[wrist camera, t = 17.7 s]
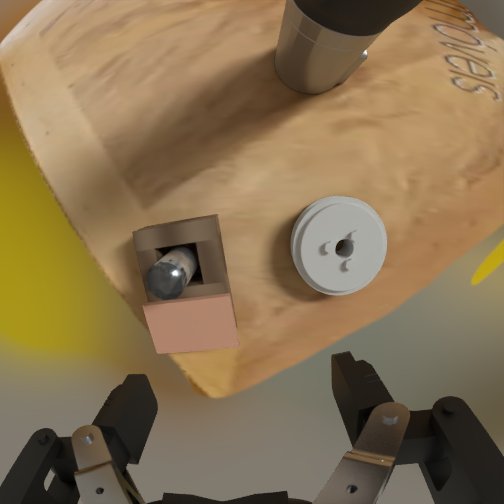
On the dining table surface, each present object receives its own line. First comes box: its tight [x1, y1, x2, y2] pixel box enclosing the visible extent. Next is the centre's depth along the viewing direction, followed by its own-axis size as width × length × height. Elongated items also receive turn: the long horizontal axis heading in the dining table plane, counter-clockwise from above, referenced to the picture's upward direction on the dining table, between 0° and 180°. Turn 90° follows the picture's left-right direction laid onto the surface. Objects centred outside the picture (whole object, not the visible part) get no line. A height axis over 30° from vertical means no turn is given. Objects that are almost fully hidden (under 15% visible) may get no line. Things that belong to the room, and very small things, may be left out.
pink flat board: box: [142, 293, 239, 354], centre depth 35 cm, size 11×7×1 cm, turn 98°
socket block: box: [133, 214, 237, 328], centre depth 37 cm, size 10×16×5 cm, turn 8°
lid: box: [290, 196, 387, 295], centre depth 36 cm, size 13×13×5 cm
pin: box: [147, 243, 200, 300], centre depth 34 cm, size 4×4×11 cm
